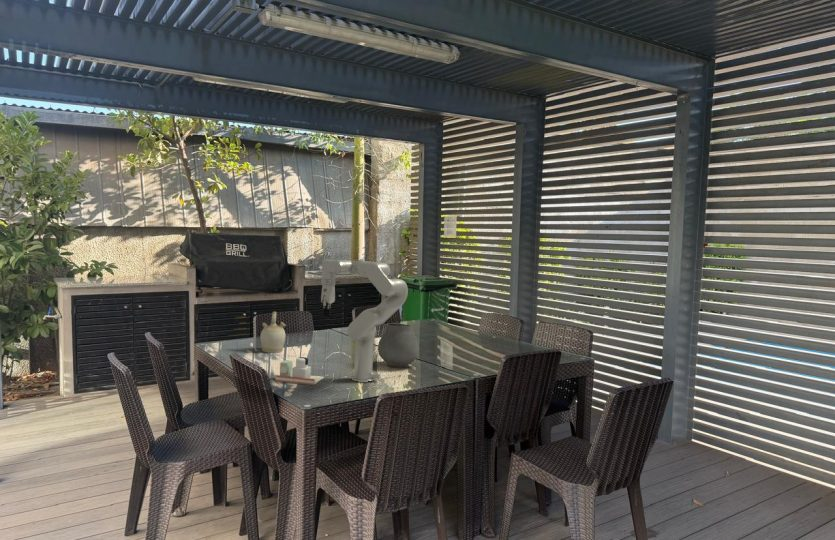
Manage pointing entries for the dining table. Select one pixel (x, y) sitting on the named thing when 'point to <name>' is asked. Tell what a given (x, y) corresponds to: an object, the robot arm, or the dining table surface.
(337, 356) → the dining table surface
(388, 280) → the robot arm
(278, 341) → the jug
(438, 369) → the dining table surface
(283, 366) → the tea box
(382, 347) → the ceramic pot
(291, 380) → the cream flat block
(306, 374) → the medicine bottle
